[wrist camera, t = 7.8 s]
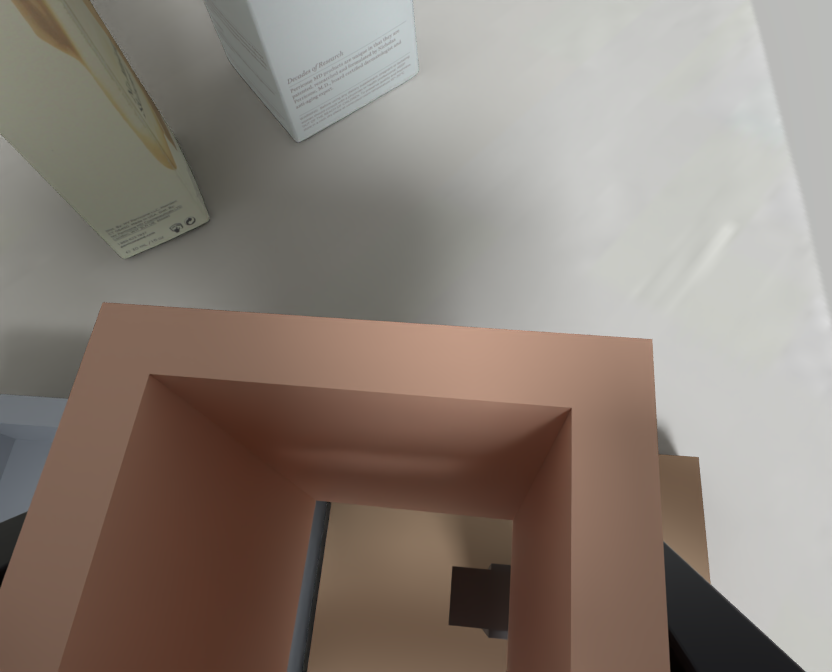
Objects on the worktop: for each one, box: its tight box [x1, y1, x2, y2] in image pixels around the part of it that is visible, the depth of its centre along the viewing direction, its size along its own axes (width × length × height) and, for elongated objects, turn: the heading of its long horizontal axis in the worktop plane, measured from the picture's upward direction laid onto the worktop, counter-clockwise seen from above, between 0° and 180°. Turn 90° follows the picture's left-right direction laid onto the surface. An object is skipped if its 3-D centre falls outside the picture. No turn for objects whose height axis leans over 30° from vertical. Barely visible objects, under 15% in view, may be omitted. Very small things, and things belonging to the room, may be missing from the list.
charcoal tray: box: [0, 394, 327, 672], centre depth 19 cm, size 14×13×3 cm
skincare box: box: [0, 0, 209, 259], centre depth 23 cm, size 6×4×12 cm
